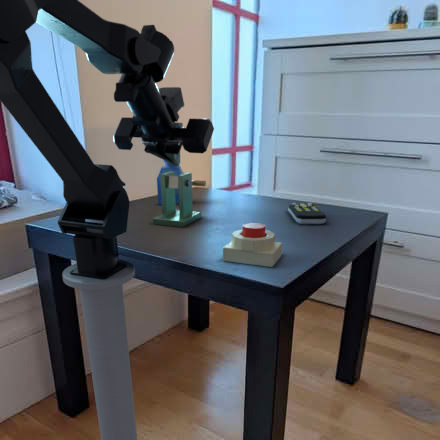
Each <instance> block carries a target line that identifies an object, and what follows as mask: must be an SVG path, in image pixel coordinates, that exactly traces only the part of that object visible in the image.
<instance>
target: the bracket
mask: <svg viewBox="0 0 440 440" xmlns="http://www.w3.org/2000/svg"><path fill="white" fill-rule="evenodd" d="M183 173H184V172H183ZM169 176H174V172H172V171H170V172H166V173H163V174H160V179H161V198H162V204H161V214H160V215H157V216H155V217H153V218H152V224H153V225H160V226H167V227H168V226H169V227H178V228H185V227H186V226H187V227H188V226H189V225H190V224H192V223H194V222H196V221H197V220H199V219H201V218H202V212H201V211H195V210H193V186H192V180H193V173H192V172H188V171H187V172H185V173H184V174H181V175H178V187H179V204H178V209H177V207H176V206H177V204H176V203H175V188H169Z"/></svg>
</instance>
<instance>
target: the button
mask: <svg viewBox="0 0 440 440" xmlns="http://www.w3.org/2000/svg"><path fill="white" fill-rule="evenodd" d="M241 227H242V229H241V230H242V236H244V237H249V238H261V237H265V230H267V229H266V227H267V225H266V224H263V223H260V222H247V223H243V224H242V226H241Z"/></svg>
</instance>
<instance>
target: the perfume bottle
mask: <svg viewBox="0 0 440 440" xmlns="http://www.w3.org/2000/svg"><path fill="white" fill-rule="evenodd" d="M163 163H164V165H163V166H162V167H161V168H160V170H159V173H158V174H157V177H156V188H157V189H156V190H157V191H156V193H157V205H162V198H161V179H160V174H163V173H166V172H170V171H172V172H174V176H178V175H181V174H184V171H183V169H182V167H181V165H179V166H175V165H173V164H171V163H169V162H167V161H165V160H163ZM175 203H176V205H179V189H175Z"/></svg>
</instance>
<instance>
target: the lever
mask: <svg viewBox="0 0 440 440" xmlns="http://www.w3.org/2000/svg"><path fill="white" fill-rule="evenodd" d="M206 186H207V181H206V180H200V179H199V180H197V179H192V187H206ZM169 188H175V189H179V187H178V176H169Z"/></svg>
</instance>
